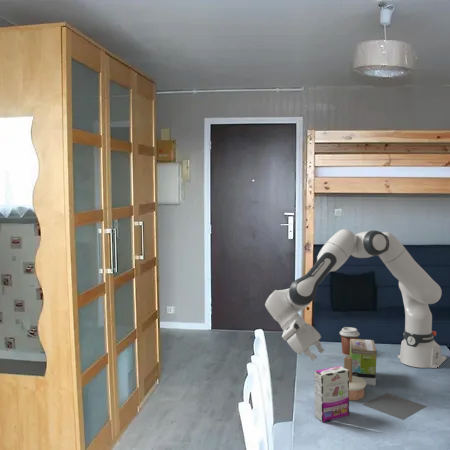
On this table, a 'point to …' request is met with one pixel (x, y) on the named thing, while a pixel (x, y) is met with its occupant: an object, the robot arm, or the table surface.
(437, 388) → the table surface
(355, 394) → the bowl
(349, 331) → the coffee cup
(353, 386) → the lid
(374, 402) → the mat
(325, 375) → the candy bar box
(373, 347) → the tea box
